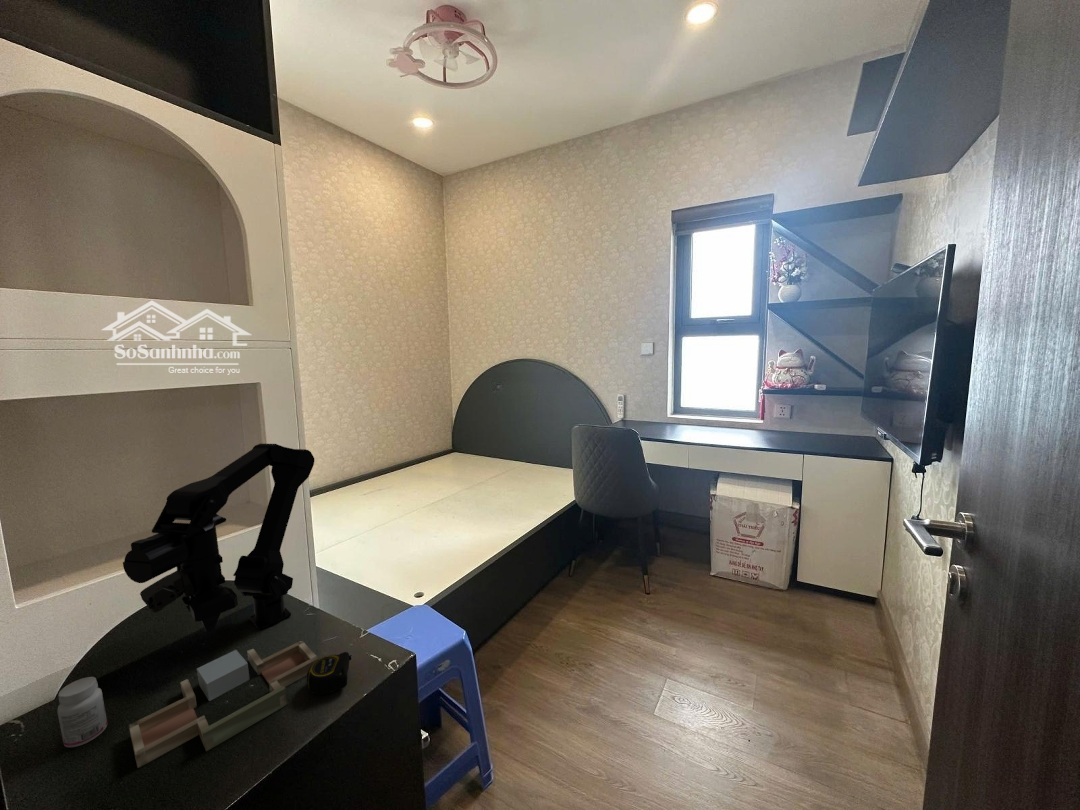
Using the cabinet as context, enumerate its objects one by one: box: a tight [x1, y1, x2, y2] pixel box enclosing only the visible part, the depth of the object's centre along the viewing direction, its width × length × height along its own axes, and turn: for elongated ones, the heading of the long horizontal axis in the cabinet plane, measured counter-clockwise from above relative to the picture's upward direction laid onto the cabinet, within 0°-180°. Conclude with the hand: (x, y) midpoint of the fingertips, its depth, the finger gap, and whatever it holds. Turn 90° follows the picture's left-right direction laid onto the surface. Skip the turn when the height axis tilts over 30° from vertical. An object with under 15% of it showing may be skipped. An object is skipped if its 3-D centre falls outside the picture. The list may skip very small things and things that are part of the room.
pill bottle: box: [57, 676, 108, 748], centre depth 66 cm, size 5×5×8 cm
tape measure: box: [306, 651, 352, 696], centre depth 75 cm, size 7×7×4 cm
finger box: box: [128, 640, 320, 769], centre depth 73 cm, size 18×25×3 cm
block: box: [196, 649, 250, 702], centre depth 76 cm, size 6×6×4 cm
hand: (209, 631), depth 81 cm, fingers closed
